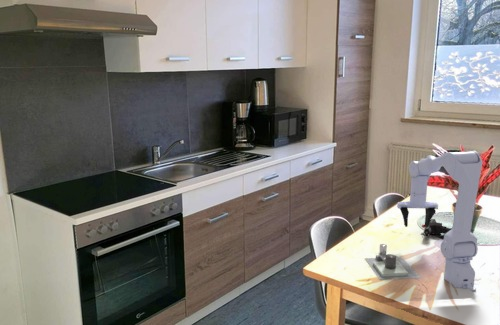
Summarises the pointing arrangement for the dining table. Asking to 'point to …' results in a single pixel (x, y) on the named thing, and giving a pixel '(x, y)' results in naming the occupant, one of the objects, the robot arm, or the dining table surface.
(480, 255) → the dining table surface
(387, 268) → the lid
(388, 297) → the dining table surface
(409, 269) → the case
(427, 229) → the black power drill
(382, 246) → the bolt
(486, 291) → the dining table surface
